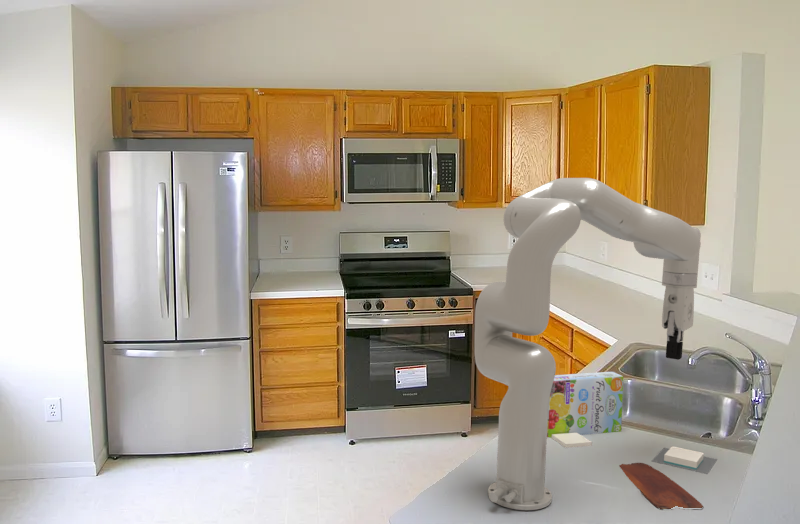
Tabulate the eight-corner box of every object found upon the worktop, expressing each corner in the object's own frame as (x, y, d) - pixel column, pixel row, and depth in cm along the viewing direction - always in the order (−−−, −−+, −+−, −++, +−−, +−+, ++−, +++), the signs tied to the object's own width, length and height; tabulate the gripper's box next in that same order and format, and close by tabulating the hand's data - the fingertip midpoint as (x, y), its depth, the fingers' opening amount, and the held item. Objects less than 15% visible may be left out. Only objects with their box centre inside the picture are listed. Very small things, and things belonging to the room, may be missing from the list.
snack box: (609, 426, 188) (612, 370, 186) (621, 433, 183) (625, 376, 181) (537, 432, 182) (539, 374, 180) (547, 439, 176) (550, 380, 175)
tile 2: (703, 460, 164) (696, 469, 158) (671, 453, 168) (663, 462, 162) (703, 452, 164) (696, 462, 158) (672, 446, 168) (664, 454, 162)
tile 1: (591, 449, 172) (591, 441, 172) (565, 451, 170) (566, 444, 170) (576, 439, 179) (576, 432, 178) (551, 441, 176) (551, 434, 176)
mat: (707, 475, 156) (707, 474, 156) (651, 462, 163) (651, 461, 163) (717, 460, 165) (717, 459, 165) (664, 449, 172) (664, 447, 172)
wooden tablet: (707, 513, 139) (707, 504, 139) (658, 513, 138) (658, 505, 138) (647, 461, 166) (647, 454, 165) (605, 461, 165) (606, 454, 164)
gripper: (688, 284, 155) (682, 366, 157) (704, 279, 168) (698, 355, 169) (653, 280, 160) (647, 360, 162) (671, 276, 172) (665, 350, 174)
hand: (673, 358), depth 165 cm, fingers closed
